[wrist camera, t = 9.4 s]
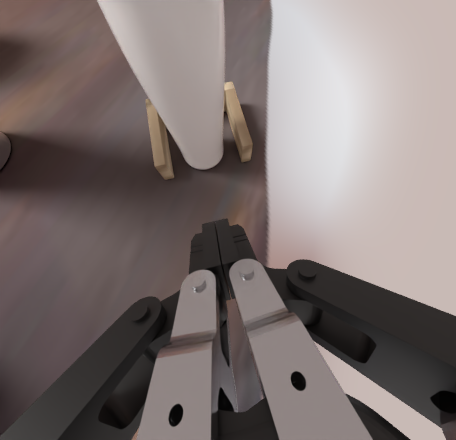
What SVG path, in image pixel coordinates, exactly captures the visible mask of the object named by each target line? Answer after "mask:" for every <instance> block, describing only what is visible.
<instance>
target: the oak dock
mask: <svg viewBox="0 0 456 440" xmlns="http://www.w3.org/2000/svg"><path fill="white" fill-rule="evenodd" d="M146 107H147V115H148V122H149V129H150V137H151V144H152V152H153V159H154V166H155V168H156V169H157V170H158V172H159V173H160V174H161V175H162V176H163V178H164V179H165V180H167V179H171V178H174V173H173V167H172V161H171V155H170V149H169V143H168V137H167V131H166V126H165V124H164V122H163V121H162V119H161V117H160V116H159V114H158V112H157V111H156V109H155V107H154V106H153V104H152V103H151V101H150V99H147V100H146ZM225 111H226V112H227V115H228V119H229V122H230V125H231V129H232V132H233V135H234V139H235V142H236V145H237V149H238V152H239V156H240V159H241V162H246V161H250V160H251V154H252V147H253V143H252V140H251V137H250V134H249V131H248V128H247V125H246V122H245V119H244V116H243V113H242V110H241V107H240V104H239V101H238V98H237V95H236V92H235V89H234V86H233V82H227V83H225V89H224V112H225Z"/></svg>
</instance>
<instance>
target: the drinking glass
mask: <svg viewBox="0 0 456 440" xmlns="http://www.w3.org/2000/svg"><path fill="white" fill-rule="evenodd" d="M97 2H98V4H99V6H100V8H101V10H102V12H103V14H104V16H105V18H106V20H107V23H108V25H109V27H110V29H111V31H112V33H113V35H114V37H115V39H116V41H117V42H118V44H119V46H120V48H121V50H122V52H123V54H124V56H125V58H126V60H127V61H128V63H129V65H130V67H131V69H132V71H133V72H134V74H135V76H136V77H137V79H138V81H139V83H140V84H141V86H142V88H143V89H144V91H145V93H146V94H147V96H148V98H149V99H150V101H151V103H152V104H153V106H154V107H155V109H156V111H157V112H158V114H159V116H160V117H161V119H162V121H163V122H164V124H165V126H166V127H167V129H168V130H169V132H170V134H171V135H172V137H173V139H174V140H175V142H176V144H177V146H178V147H179V149H180V151H181V153H182V155H183V157H184V159H185V161H186V162H187V163H188V164H189V165H190V166H192V167H193V168H196V169H201V170H204V169H209V168H212V167H214V166H215V165H217V164H218V163H219V162H220V160H221V159H222V156H223V152H224V148H223V119H224V89H225V16H224V0H97Z"/></svg>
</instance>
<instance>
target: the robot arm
mask: <svg viewBox="0 0 456 440" xmlns="http://www.w3.org/2000/svg"><path fill="white" fill-rule="evenodd" d="M10 151H11V144H10V141H9V139H8V137H7V136H6V135H5V134H3V133H2V132H0V169H1V168H2V167H3V166H4V164H5V163H6V161H7V159H8V157H9V155H10ZM215 222H216V225H215ZM215 222H210V223H206V224H202V233H200V234H195V236H194V237H193V239H192V241H191V252H190V253H191V254H190V266H189V275H188V276H187V277H186V278H185V280H184V281H183V283H182V286H181V289H180V290H179V291H178V292H177V293H175V294H173V295H172V296H170V297H168V298H166V299H164V300H163V301H161V302H160V301H159V299H158V298H156V297H145V298H142V299H140V300H139V301H137V302H135V303H134V304H133V305H132V306H131V307H130V308H129V309H128V310H127V311H126V312H125V313H124V314H123V315H122V316H121V317H120V318H119V319H118V320H116V321H115V322H114V323H113V324H112V325H111V326H110V327H109V328H108V329H107V330H106V331H105V332H104V333H103V334H102V335H101V336H100V337H99V338H98V339H97V340H96V341H95V342H94V343H93V344H92V345H91V346H90V347H89V348H88V349H87V350H86V351H85V352H84V353H83V354H82V355H81V356H80V357H79V358H78V359H77V360H76V361H75V362H74V363H73V364H72V365H71V366H70V367H69V368H68V369H67V370H66V371H65V372H64V373H63V374H62V375H61V376H60V377H59V378H58V379H57V380H56V381H55V382H54V383H53V384H52V385H51V386H50V387H49V388H48V389H47V390H46V391H45V392H44V393H43V394H42V395H41V396H40V397H39V398H38V399H37V400H36V401H35V402H34V403H33V404H32V405H31V406H30V407H29V408H28V409H27V410H26V411H25V412H24V413H23V414H22V415H21V416H20V417H19V418H18V419H17V420H16V421H15V422H14V423H13V424H12V425H11V426H10V427H9V428H8V429H7V430H6V431H5V432H4V433H3V434H2V435H1V436H0V440H131V439H132V437H133V436H134V434H135V433H136V431H137V429H138V428H139V431H138V435H137V439H136V440H410V439H409V438H408V437H406V436H405V435H404V434H403V433H402V432H400V431H399V430H398V429H397V428H395V427H393V425H392V424H390V423H389V422H388V421H386V420H385V419H384V418H383V417H382V416H380V415H379V414H378V413H376V412H375V411H374V410H373V409H371V408H369V407H368V406H367V405H365V404H364V403H362V402H360V401H359V400H357V399H355V398H353V397H351V396H350V395H348V394H345V393H344V391H343V390H342V388H341V386H340V385H339V383H338V381H337V380H336V378H335V376H334V375H333V373H332V371H331V370H330V368H329V366H328V365H327V363H326V361H325V360H324V358H323V356H322V355H321V353H320V351H319V350H318V348H317V346H316V345H315V343H314V342H313V341H315V342H316V343H318V344H319V345H321V346H322V347H324V348H325V349H326V350H328V351H329V352H331V353H332V354H334V355H335V356H337V357H338V358H340V359H341V360H343V361H344V362H345V363H347V364H349V365H350V366H351V367H353V368H354V369H356V370H357V371H359V372H360V373H362V374H363V375H364V376H366V377H367V378H369V379H370V380H372V381H373V382H375V383H376V384H378V385H379V386H381V387H382V388H384V389H385V390H386V391H388V392H389V393H391V394H392V395H394V396H395V397H397V398H398V399H400V400H401V401H402V402H404V403H405V404H407V405H408V406H410V407H411V408H413V409H414V410H416V411H417V412H419V413H420V414H421V415H423V416H425V417H426V418H427V419H429V420H430V421H432V422H433V423H435V424H436V425H438V426H439V427H440V428H442V430H443V433H444V435H445V438H446V440H456V316H454V315H451V314H449V313H446V312H443V311H441V310H438V309H436V308H433V307H431V306H428V305H425V304H423V303H420V302H417V301H415V300H412V299H410V298H407V297H405V296H402V295H399V294H397V293H394V292H392V291H389V290H387V289H384V288H381V287H379V286H376V285H373V284H371V283H368V282H366V281H363V280H361V279H358V278H355V277H353V276H350V275H348V274H345V273H342V272H340V271H337V270H334V269H332V268H329V267H327V266H324V265H321V264H319V263H316V262H314V261H311V260H296V261H294V262H292V263H290V264H289V266H288V267H287V269H272V268H268V267H265V266H263V265H262V264H260V263H259V262H258V261H257V259H256V257H255V254H254V252H253V250H252V247H251V245H250V243H249V240H248V238H247V236H246V233H245V231H244V229H243V228H242V227H241V226H239V225H238V224H237V225H233V226H229V223H228V219H222V220H218V221H215ZM228 286H229V287H228ZM229 290H230V293H231V297H232V299H234V298H235V299H236V303H237V307H238V311H239V314H240V318H241V321H242V325H243V328H244V332H245V335H246V338H247V342H248V345H249V349H250V352H251V356H252V359H253V363H254V366H255V370H256V373H257V377H258V380H259V384H260V387H261V391H262V394H263V398H264V399H262V400H261V401H260V402H258V403H257V404H256V405H254V406H253V407H252V408H250V409H249V410H247V411H246V412H238V410H237V398H236V389H235V382H234V377H233V371H232V360H231V347H230V334H229V321H228V315H227V314H228V311H227V304H226V300H230V299H231V298H230V293H229ZM139 426H140V427H139Z"/></svg>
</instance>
